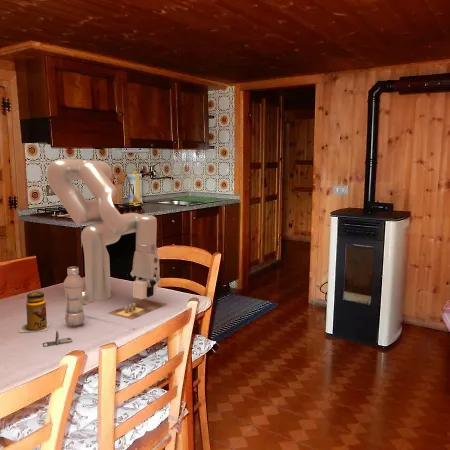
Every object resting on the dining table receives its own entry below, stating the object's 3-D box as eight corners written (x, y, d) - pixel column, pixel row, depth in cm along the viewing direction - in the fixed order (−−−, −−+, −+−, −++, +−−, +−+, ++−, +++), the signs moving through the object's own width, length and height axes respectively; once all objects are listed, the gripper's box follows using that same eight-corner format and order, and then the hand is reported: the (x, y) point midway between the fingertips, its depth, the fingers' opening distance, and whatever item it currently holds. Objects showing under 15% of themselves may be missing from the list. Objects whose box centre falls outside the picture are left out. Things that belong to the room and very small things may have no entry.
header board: (132, 323, 153) (132, 312, 152) (107, 317, 159) (107, 306, 158) (168, 307, 170) (168, 297, 169) (144, 302, 176) (144, 292, 175)
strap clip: (71, 339, 139) (71, 327, 138) (72, 343, 136) (72, 330, 136) (42, 344, 135) (41, 331, 135) (43, 348, 132) (42, 334, 132)
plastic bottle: (66, 329, 147) (64, 271, 144) (63, 323, 152) (61, 266, 150) (86, 326, 150) (84, 269, 147) (83, 320, 155) (81, 265, 153)
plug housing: (141, 299, 163) (142, 283, 162) (133, 296, 166) (133, 281, 165) (156, 293, 171) (156, 278, 170) (147, 291, 173) (148, 276, 172)
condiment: (46, 331, 145) (44, 296, 144) (18, 333, 143) (16, 297, 142) (49, 323, 152) (48, 289, 151) (23, 325, 150) (21, 291, 149)
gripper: (169, 250, 164) (168, 297, 167) (135, 243, 173) (134, 288, 175) (157, 253, 158) (155, 302, 161) (122, 246, 166) (121, 292, 169)
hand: (144, 294), depth 168 cm, fingers closed on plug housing, 4 cm apart
